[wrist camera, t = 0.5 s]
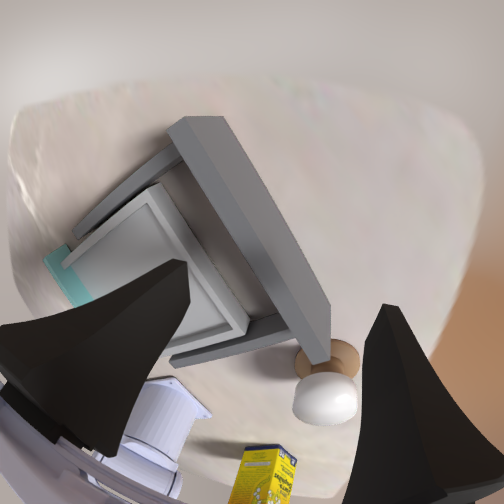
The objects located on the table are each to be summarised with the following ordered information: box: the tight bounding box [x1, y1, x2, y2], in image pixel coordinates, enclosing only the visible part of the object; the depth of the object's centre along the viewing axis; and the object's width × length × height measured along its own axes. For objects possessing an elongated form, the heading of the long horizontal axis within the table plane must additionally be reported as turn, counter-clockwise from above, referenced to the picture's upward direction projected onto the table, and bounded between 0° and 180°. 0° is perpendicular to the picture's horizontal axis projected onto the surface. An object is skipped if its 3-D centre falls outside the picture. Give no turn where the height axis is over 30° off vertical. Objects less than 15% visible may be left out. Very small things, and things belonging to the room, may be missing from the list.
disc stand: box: [295, 339, 360, 379], centre depth 23 cm, size 6×6×4 cm
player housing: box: [72, 116, 331, 369], centre depth 20 cm, size 16×16×6 cm
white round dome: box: [292, 372, 357, 426], centre depth 21 cm, size 5×5×2 cm
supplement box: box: [228, 444, 297, 504], centre depth 30 cm, size 6×6×11 cm
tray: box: [43, 182, 251, 358], centre depth 24 cm, size 15×16×3 cm
